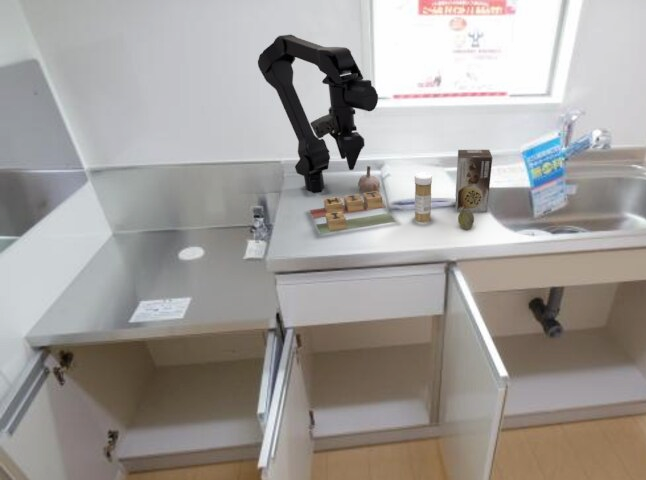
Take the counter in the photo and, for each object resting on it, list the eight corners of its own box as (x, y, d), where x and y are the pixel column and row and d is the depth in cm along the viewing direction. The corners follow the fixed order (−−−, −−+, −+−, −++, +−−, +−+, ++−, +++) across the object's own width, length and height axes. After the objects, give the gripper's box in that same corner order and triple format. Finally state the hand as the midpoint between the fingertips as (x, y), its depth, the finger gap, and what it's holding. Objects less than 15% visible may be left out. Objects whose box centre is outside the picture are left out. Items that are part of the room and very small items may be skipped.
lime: (473, 223, 124) (474, 206, 121) (473, 231, 121) (475, 214, 117) (457, 222, 124) (458, 206, 121) (457, 230, 121) (458, 213, 118)
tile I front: (326, 223, 121) (325, 213, 119) (342, 221, 122) (341, 210, 120) (330, 231, 117) (328, 220, 115) (346, 228, 119) (345, 217, 117)
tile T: (363, 202, 131) (363, 192, 129) (378, 200, 133) (377, 190, 131) (367, 208, 128) (367, 198, 126) (382, 206, 129) (382, 196, 127)
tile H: (324, 208, 128) (323, 198, 126) (340, 206, 129) (339, 196, 127) (328, 215, 125) (326, 205, 123) (343, 212, 126) (342, 202, 124)
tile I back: (344, 205, 130) (343, 195, 128) (359, 203, 131) (358, 193, 129) (348, 212, 126) (347, 202, 124) (363, 209, 128) (362, 199, 126)
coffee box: (484, 202, 135) (490, 149, 125) (487, 212, 130) (493, 157, 120) (454, 202, 135) (457, 148, 124) (456, 212, 130) (460, 156, 119)
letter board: (308, 213, 127) (307, 209, 127) (381, 202, 134) (381, 199, 133) (318, 237, 117) (318, 234, 116) (397, 224, 123) (397, 220, 122)
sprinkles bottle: (427, 217, 127) (428, 170, 118) (433, 224, 124) (434, 177, 115) (412, 219, 126) (412, 172, 117) (417, 226, 122) (418, 179, 114)
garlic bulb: (371, 184, 144) (369, 160, 139) (386, 191, 140) (385, 166, 135) (353, 191, 140) (350, 166, 135) (368, 198, 136) (366, 172, 131)
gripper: (304, 98, 120) (312, 156, 129) (317, 116, 106) (325, 179, 116) (344, 95, 123) (349, 152, 133) (363, 112, 110) (366, 174, 119)
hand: (347, 164), depth 125 cm, fingers open, 9 cm apart
